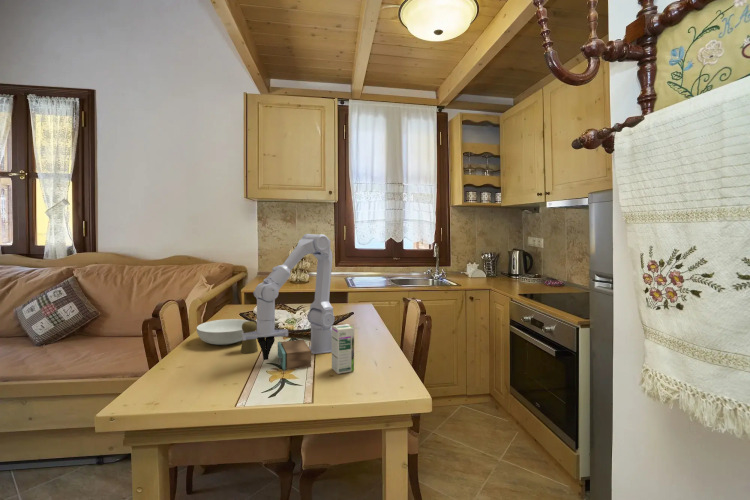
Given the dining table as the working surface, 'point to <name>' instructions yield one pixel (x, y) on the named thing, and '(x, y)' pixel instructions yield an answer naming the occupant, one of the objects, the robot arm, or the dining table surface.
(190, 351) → the dining table surface
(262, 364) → the dining table surface
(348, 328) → the syrup box
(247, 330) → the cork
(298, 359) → the walnut cabinet
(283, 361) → the teal door
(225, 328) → the serving bowl
